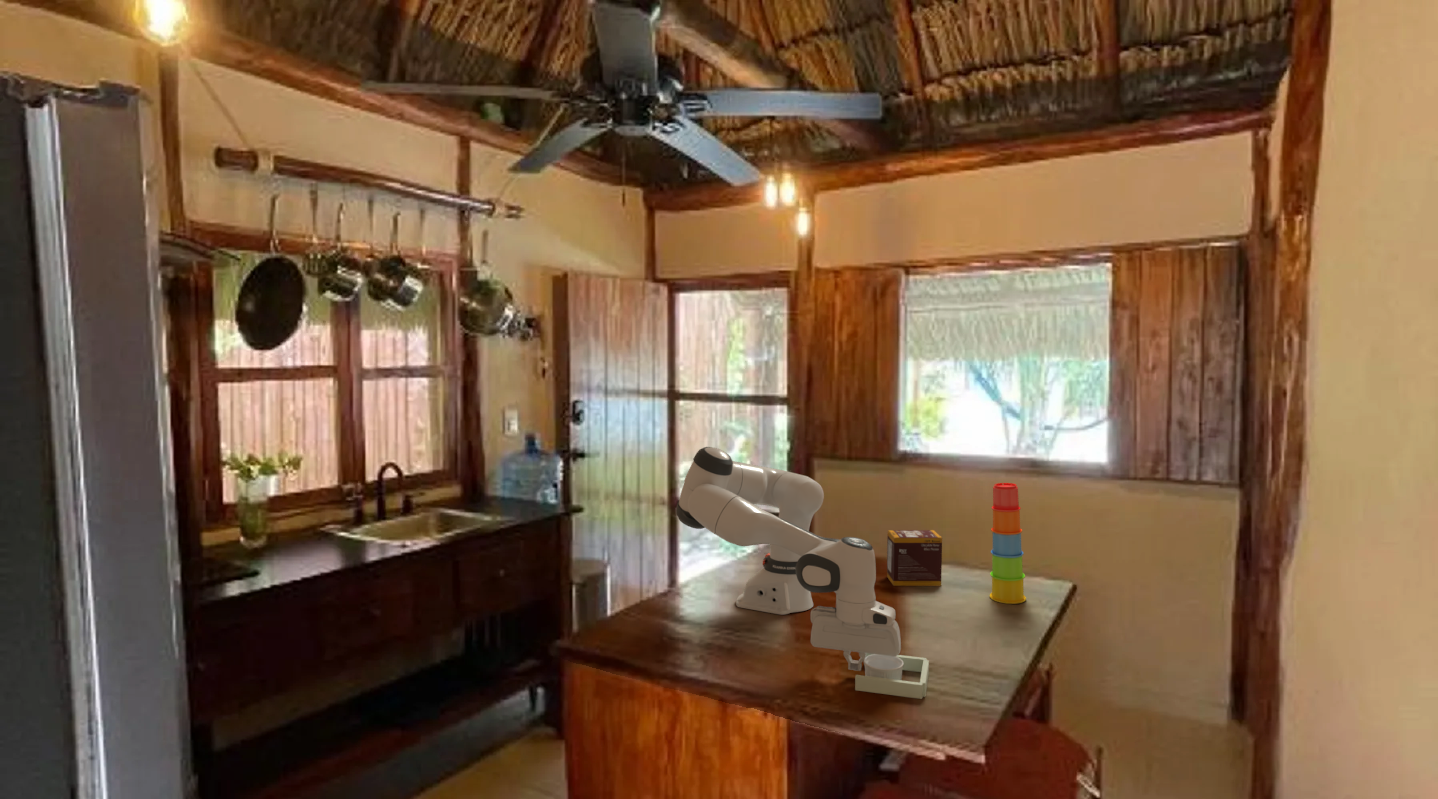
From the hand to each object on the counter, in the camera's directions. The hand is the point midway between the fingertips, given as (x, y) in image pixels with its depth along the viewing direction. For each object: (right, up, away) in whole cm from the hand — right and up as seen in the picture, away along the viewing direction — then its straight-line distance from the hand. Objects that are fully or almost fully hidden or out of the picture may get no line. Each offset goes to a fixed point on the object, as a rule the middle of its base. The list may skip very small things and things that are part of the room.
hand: (854, 669), depth 178 cm
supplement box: (+32, +3, +73) cm, 80 cm away
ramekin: (+6, -2, -2) cm, 7 cm away
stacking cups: (+55, +2, +55) cm, 78 cm away
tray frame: (+8, -2, -2) cm, 8 cm away
